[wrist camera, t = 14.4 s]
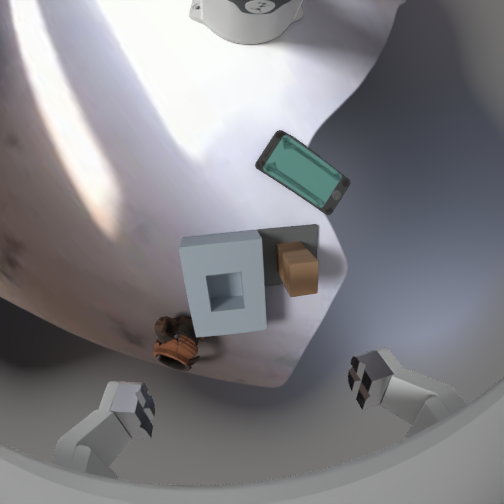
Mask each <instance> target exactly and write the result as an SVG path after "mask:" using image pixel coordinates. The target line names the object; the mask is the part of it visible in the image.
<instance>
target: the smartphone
mask: <svg viewBox="0 0 504 504" xmlns="http://www.w3.org/2000/svg"><path fill="white" fill-rule="evenodd" d="M255 166H256V168H257V169H258V170H260V171H261V172H263V173H265V174H266V175H268V176H269V177H271V178H272V179H274V180H276V181H277V182H279V183H280V184H282V185H283V186H285V187H286V188H288V189H289V190H291V191H292V192H294V193H296V194H297V195H298V196H300V197H301V198H303V199H304V200H306V201H307V202H309V203H310V204H312V205H313V206H315V207H316V208H318V209H319V210H320V211H322V212H323V213H325V214H326V215H330V214H331V213H332V212H333V210H334V209H335V207H336V206H337V204H338V203H339V201H340V200H341V198H342V196H343V195H344V193H345V192H346V190H347V188H348V187H349V185H350V180H349V179H348V178H346V177H345V176H344V175H342V174H341V173H340V172H339V171H338V170H336V169H335V168H334V167H332V166H331V165H330V164H328V163H327V162H326V161H324V160H323V159H322V158H320V156H319V155H318V154H316V153H315V152H314V151H312V150H311V149H309V148H307V147H306V146H305V145H304V144H303V143H301V142H300V141H297V139H295V138H294V137H292V136H291V135H288V134H287V133H285V132H284V131H281V130H279V131H277V132H276V133H275V134H274V136H273V137H272V139H271V140H270V142H269V144H268V145H267V147H266V148H265V150H264V151H263V153H262V154H261V156H260V157H259V159H258V160H257V162H256V164H255Z"/></svg>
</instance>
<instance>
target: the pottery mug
mask: <svg viewBox="0 0 504 504" xmlns="http://www.w3.org/2000/svg"><path fill="white" fill-rule="evenodd" d="M155 332H156V334H157V336H158V339H159V340H157V341H156V342H155V343H156V344H155V345H154V349H155V350H154V352H153V356H154V357H157V356H158V355H160V357H159V359H158V361H160V362H161V363H163V364H164V365H167V366H169V367H171V368H174V369H177V370H181V371H188V370H190V369H191V368H192V367H191V365H193V364H195V363H196V362H197V361H198V360H199V356H197V357H196V358H194V359H191V358H192V357H194V356H195V355H196V354H197V352H198V347H197V345H198V340H199V338H200V340H201V341H203V340H204V337H196V335H195V330H194V326H193V321H192V319H190V318H187V317H184V316H181V317H180V319H179V321H178V322H177V321H176V320H175V319H173V318H170V317H167V316H165V317H161V318H160V319H158V320H157V322H156V324H155ZM176 334H178V339H176V338H174V335H176Z"/></svg>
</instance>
